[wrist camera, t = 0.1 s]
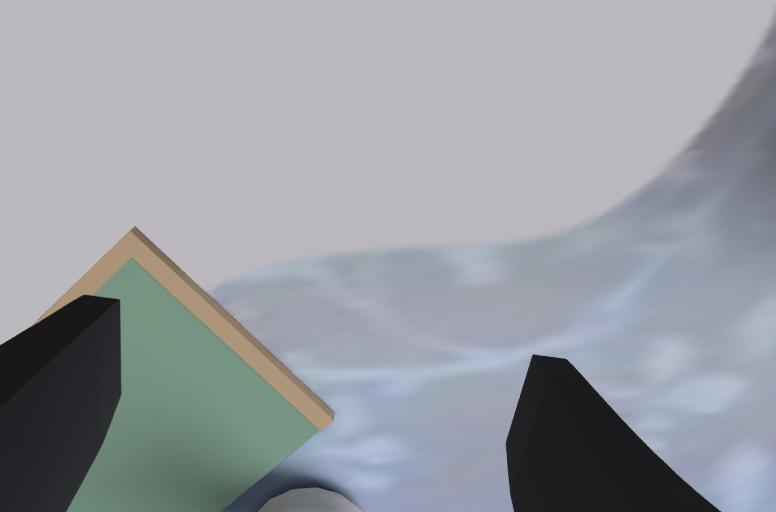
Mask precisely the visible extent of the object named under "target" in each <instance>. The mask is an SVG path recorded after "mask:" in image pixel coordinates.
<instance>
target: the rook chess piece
mask: <svg viewBox="0 0 776 512" xmlns="http://www.w3.org/2000/svg"><path fill="white" fill-rule="evenodd" d="M258 512H362V511H361V509H360V508H359V507H357V506H356V505H355V504H353V503H352V502H350V501H349V500H348V499H346V498H345V497H343V496H342V495H341V494H338V493H336V492H332V491H328V490H325V489H321V488H317V487H314V488H299V489H292V490H290V491H287V492H285V493H283V494H281V495H278V496H276V497H274V498H271V499H269V500H268V502H267V503H266V504H265V505H264V506H263V507H262V508H261V509H260V510H259V511H258Z"/></svg>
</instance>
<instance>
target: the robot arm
mask: <svg viewBox="0 0 776 512" xmlns="http://www.w3.org/2000/svg"><path fill="white" fill-rule="evenodd" d="M120 397H121V317H120V299H114V298H107V297H100V296H92V295H85V294H84V295H82V296H80V297H79V298H77V299H75V300H73V301H72V302H70V303H68V304H67V305H65V306H63V307H62V308H60V309H59V310H57V311H55V312H54V313H52V314H51V315H49V316H47V317H46V318H44V319H43V320H41V321H39V322H38V323H36V324H35V325H33V326H31V327H30V328H28V329H26V330H25V331H23V332H21V333H20V334H18V335H16V336H15V337H13V338H11V339H10V340H8V341H6V342H5V343H3V344H1V345H0V512H66V511H67V510H68V508H69V506H70V504H71V502H72V501H73V499H74V497H75V495H76V493H77V491H78V490H79V488H80V486H81V484H82V482H83V480H84V479H85V477H86V475H87V473H88V471H89V469H90V467H91V466H92V464H93V462H94V460H95V458H96V456H97V454H98V452H99V450H100V449H101V447H102V445H103V442H104V440H105V437H106V434H107V432H108V429H109V427H110V424H111V422H112V419H113V416H114V414H115V411H116V408H117V405H118V403H119V400H120ZM506 451H507V464H508V476H509V486H510V495H511V500H512V504H513V509H514V512H721V511H719V510H718V509H717V508H716V507H715V506H713V505H712V504H711V503H710V502H708V501H707V500H706V499H705V498H704V497H702V496H701V495H700V494H699V493H697V492H696V491H695V490H694V489H693V488H692V487H691V486H690V485H688V484H687V483H686V482H685V481H684V480H683V479H682V478H681V477H679V476H678V475H677V474H676V473H675V472H674V471H673V470H672V469H671V468H670V467H669V466H668V465H667V464H666V463H665V462H664V461H663V460H662V459H660V458H659V457H658V456H657V455H656V454H655V453H654V452H653V451H652V450H651V449H650V448H649V447H648V446H647V445H646V444H645V443H644V442H643V441H642V440H641V439H640V438H639V437H638V436H637V435H636V434H635V433H634V431H633V430H632V429H631V428H630V427H629V426H628V425H627V424H626V423H625V422H624V421H623V420H622V419H621V418H620V417H619V416H618V414H617V413H616V412H615V411H614V410H613V409H612V408H611V407H610V406H609V405H608V404H607V402H606V401H605V400H604V399H603V398H602V397H601V396H600V395H599V394H598V392H597V391H596V390H595V389H594V388H593V387H592V386H591V385H590V384H589V383H588V381H587V380H586V379H585V378H584V377H583V376H582V375H581V374H580V373H579V372H578V370H577V369H576V368H575V367H574V366H573V365H572V364H571V363H570V362H569V361H568V360H567V359H563V358H555V357H548V356H540V355H532V359H531V362H530V365H529V368H528V372H527V375H526V378H525V381H524V385H523V388H522V391H521V395H520V398H519V401H518V404H517V408H516V411H515V414H514V417H513V421H512V424H511V427H510V431H509V434H508V437H507V440H506Z"/></svg>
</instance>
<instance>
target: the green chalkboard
mask: <svg viewBox="0 0 776 512" xmlns="http://www.w3.org/2000/svg"><path fill="white" fill-rule="evenodd" d="M84 294H85V295H92V296H100V297H107V298H114V299H120V317H121V397H120V400H119V403H118V405H117V408H116V411H115V414H114V416H113V419H112V422H111V424H110V427H109V429H108V432H107V434H106V437H105V440H104V442H103V445H102V447H101V449H100V450H99V452H98V454H97V456H96V458H95V460H94V462H93V464H92V466H91V467H90V469H89V471H88V473H87V475H86V477H85V479H84V480H83V482H82V484H81V486H80V488H79V490H78V491H77V493H76V495H75V497H74V499H73V501H72V502H71V504H70V506H69V508H68V510H67V511H66V512H221V511H222V510H224V509H225V508H226V507H227V506H229V505H230V504H231V503H232V502H233V501H235V500H236V499H237V498H238V497H240V496H241V495H242V494H243V493H244V492H246V491H247V490H248V489H249V488H251V487H252V486H253V485H254V484H255V483H257V482H258V481H259V480H260V479H261V478H263V477H264V476H265V475H266V474H268V473H269V472H270V471H271V470H272V469H274V468H275V467H276V466H277V465H279V464H280V463H281V462H282V461H283V460H285V459H286V458H287V457H288V456H289V455H291V454H292V453H293V452H294V451H296V450H297V449H298V448H299V447H300V446H302V445H303V444H304V443H305V442H307V441H308V440H309V439H310V438H311V437H313V436H314V435H315V434H316V433H317V432H319V431H322V430H323V429H324V428H325V427H327V426H328V425H329V424H330V423H331V422H333V421H334V412H333V411H332V410H331V409H330V408H329V407H328V406H327V405H326V404H325V403H324V402H322V401H321V400H320V399H319V398H318V397H317V396H316V395H315V394H314V393H313V392H312V391H311V390H310V389H309V388H307V387H306V386H305V385H304V384H303V383H302V382H301V381H300V380H299V379H298V378H297V377H296V376H295V375H294V374H293V373H291V372H290V371H289V370H288V369H287V368H286V367H285V366H284V365H283V364H282V363H281V362H280V361H279V360H278V359H276V358H275V357H274V356H273V355H272V354H271V353H270V352H269V351H268V350H267V349H266V348H265V347H264V346H263V345H262V344H260V343H259V342H258V341H257V340H256V339H255V338H254V337H253V336H252V335H251V334H250V333H249V332H248V331H247V330H245V329H244V328H243V327H242V326H241V325H240V324H239V323H238V322H237V321H236V320H235V319H234V318H233V317H232V316H231V315H229V314H228V313H227V312H226V311H225V310H224V309H223V308H222V307H221V306H220V305H219V304H218V303H217V302H216V301H214V300H213V299H212V298H211V297H210V296H209V295H208V294H207V293H206V292H205V291H204V290H203V289H202V288H201V287H200V286H198V285H197V284H196V283H195V282H194V281H193V280H192V279H191V278H190V277H189V276H188V275H187V274H186V273H185V272H183V271H182V270H181V269H180V268H179V267H178V266H177V265H176V264H175V263H174V262H173V261H172V260H171V259H170V258H169V257H167V256H166V255H165V254H164V253H163V252H162V251H161V250H160V249H159V248H158V247H157V246H156V245H155V244H153V243H152V242H151V241H150V240H149V239H148V238H147V237H146V236H145V235H144V234H143V233H142V232H141V231H140V230H139V229H138V228H136V227H134V228H133V229H132V230H130V231H129V232H128V233H127V234H126V235H125V236H124V237H123V238H122V239H121V240H120V241H119V242H118V243H117V244H116V245H115V246H114V247H113V248H112V249H111V250H110V251H109V252H108V253H107V254H106V255H105V256H103V257H102V258H101V259H100V260H99V261H98V262H97V263H96V264H95V265H94V266H93V267H92V268H91V269H90V270H89V271H88V272H87V273H86V274H85V275H84V276H83V277H82V278H81V279H80V280H79V281H78V282H77V283H75V284H74V286H72V287H71V288H70V289H69V290H68V291H67V292H66V293H65V294H64V295H63V296H62V297H61V298H60V299H59V300H58V301H57V302H56V303H55V304H54V305H53V306H52V307H51V308H50V309H49V310H48V311H46V313H45V314H44V315H42V316H41V317H40V318H39V319H38V320H37V321H36V322H35V323H34V324H33V325H35V324H36V323H38V322H39V321H41V320H43V319H44V318H46V317H47V316H49V315H51V314H52V313H54V312H55V311H57V310H59V309H60V308H62V307H63V306H65V305H67V304H68V303H70V302H72V301H73V300H75V299H77V298H79V297H80V296H82V295H84ZM33 325H32V326H33Z"/></svg>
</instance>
